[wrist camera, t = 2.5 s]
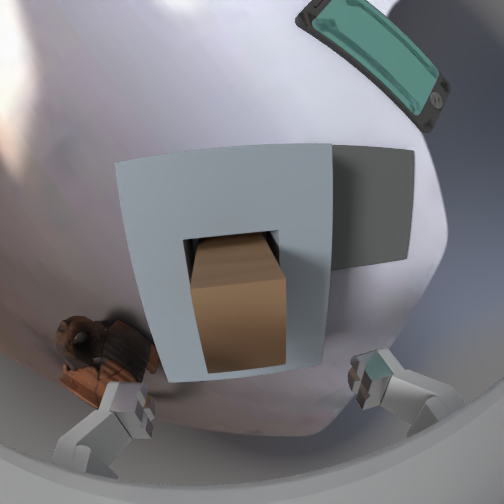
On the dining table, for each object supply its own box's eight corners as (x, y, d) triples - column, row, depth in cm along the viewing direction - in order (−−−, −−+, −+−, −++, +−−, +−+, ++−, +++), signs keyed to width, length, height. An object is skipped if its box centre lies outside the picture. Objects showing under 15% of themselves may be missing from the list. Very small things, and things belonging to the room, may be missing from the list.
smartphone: (430, 135, 18) (295, 17, 14) (421, 135, 20) (290, 24, 15) (453, 85, 17) (336, -24, 12) (445, 86, 18) (331, -18, 13)
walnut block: (200, 228, 19) (189, 289, 11) (256, 223, 20) (286, 278, 11) (209, 290, 21) (207, 373, 13) (259, 284, 21) (285, 364, 13)
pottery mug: (182, 369, 25) (151, 438, 19) (120, 351, 29) (90, 405, 23) (117, 289, 18) (58, 380, 12) (59, 280, 21) (13, 343, 15)
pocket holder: (139, 159, 18) (114, 163, 13) (304, 144, 19) (331, 143, 14) (174, 343, 23) (168, 382, 19) (304, 328, 24) (321, 364, 20)
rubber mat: (304, 144, 19) (307, 144, 18) (410, 150, 20) (414, 150, 19) (306, 270, 22) (308, 273, 22) (402, 256, 23) (406, 259, 23)
